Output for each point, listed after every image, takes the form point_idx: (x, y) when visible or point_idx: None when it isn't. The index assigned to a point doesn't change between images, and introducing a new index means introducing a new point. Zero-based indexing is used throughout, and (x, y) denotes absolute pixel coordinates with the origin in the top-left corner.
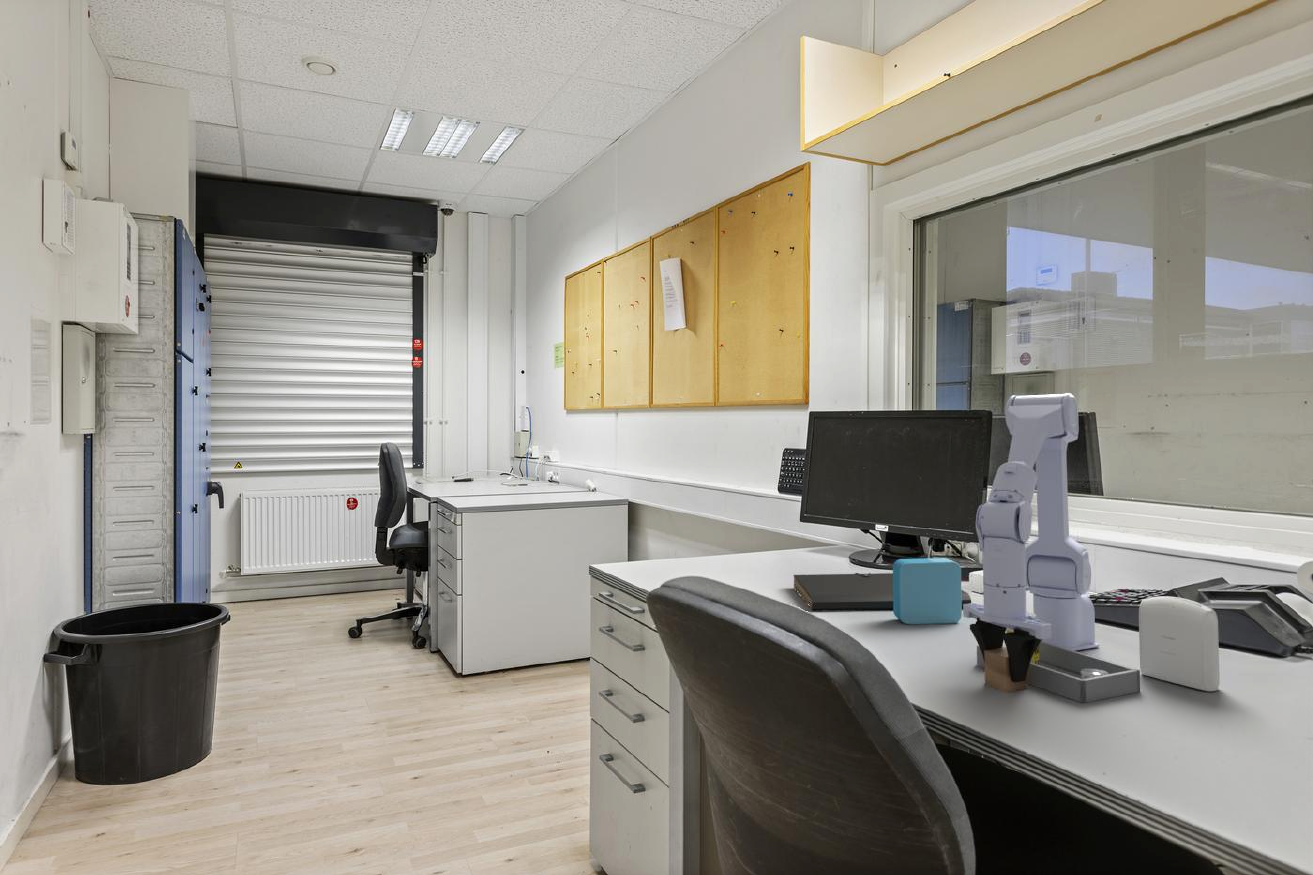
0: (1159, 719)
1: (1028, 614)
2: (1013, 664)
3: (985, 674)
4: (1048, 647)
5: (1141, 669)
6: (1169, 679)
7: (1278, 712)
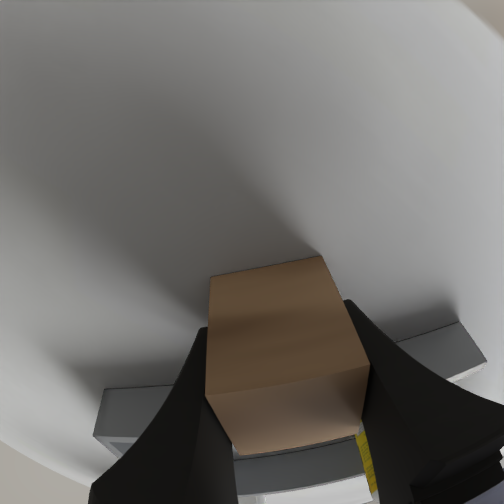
0: (40, 417)
1: None
2: (178, 383)
3: (328, 279)
4: None
5: None
6: None
7: None
